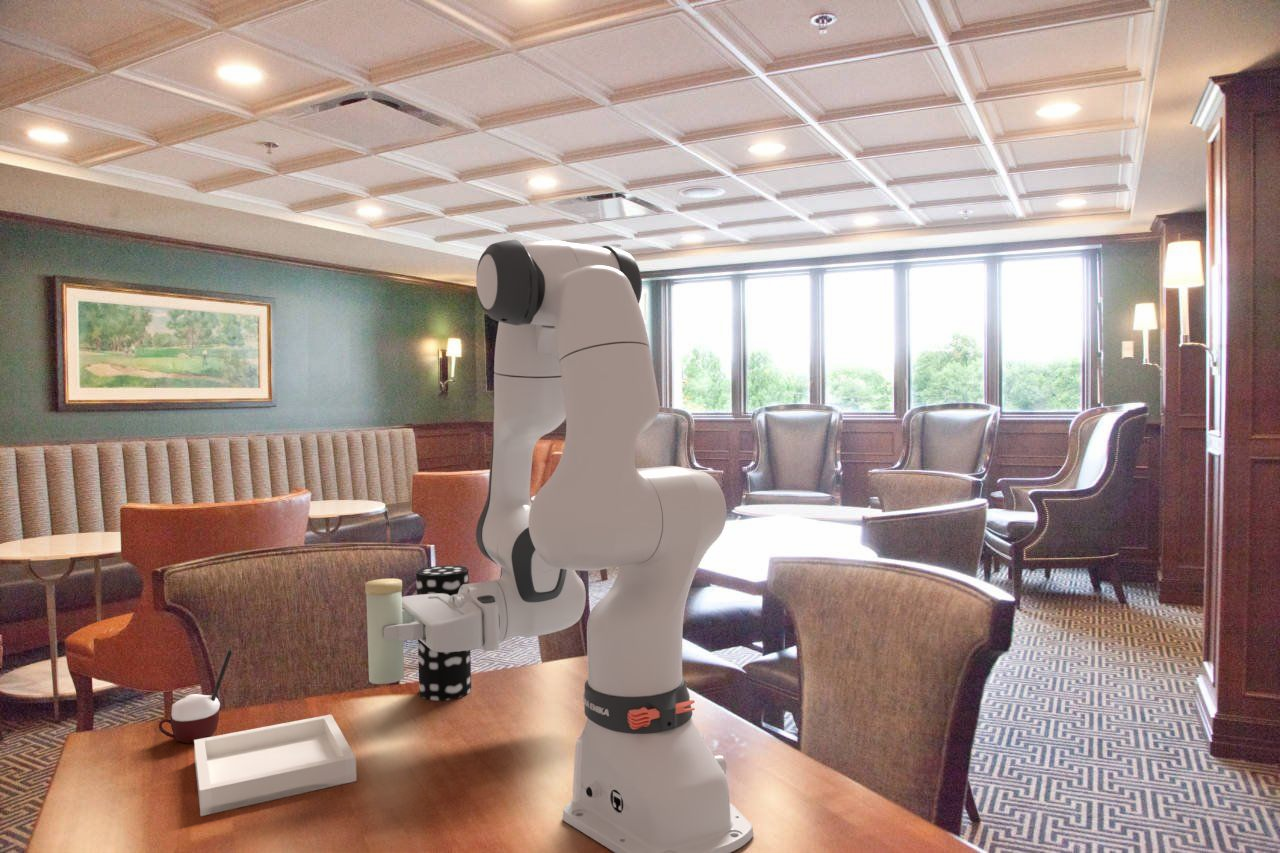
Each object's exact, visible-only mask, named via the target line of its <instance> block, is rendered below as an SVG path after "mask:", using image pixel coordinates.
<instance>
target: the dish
mask: <svg viewBox="0 0 1280 853" xmlns="http://www.w3.org/2000/svg"><path fill="white" fill-rule="evenodd" d="M193 744H194V745H193V746H194V747H193V748H194V766H195V776H196V785H197V786H196V787H197V795H198V805H199V814H200V815H199V816H200V817H204V816H207V815H213V814H217V813H222V812H225V811H230V810H234V809H238V808H243V807H248V806H252V805H256V804H260V803H265V802H270V801H274V800H278V799H283V798H287V797H291V796H295V795H296V796H297V795H301V794H305V793H309V792H313V791H317V790H322V789H327V788H330V787H331V788H332V787H335V786H340V785H345V784H348V783H354V782H357V757H356V755H355V753H354V751H353V750H352V748H351V746H350V744H349V743H348V741H347V740H346V737H345V736H344V734H343V732H342V731H341V729H340V727H339V725H338V723H337V722H336V720H335V719H334V717H333V715H332V713H331V714H326V715H320V716H316V717H310V718H303V719H299V720H294V721H289V722H282V723H279V724H278V723H276V724H274V725H273V724H271V725H267V726H261V727H257V728H251V729H246V730H241V731H240V730H239V731H234V732H230V733H225V734H224V733H223V734H220V735H219V734H218V735H212V736H210V737H207V738H202V739H197V740H194V743H193Z"/></svg>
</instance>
